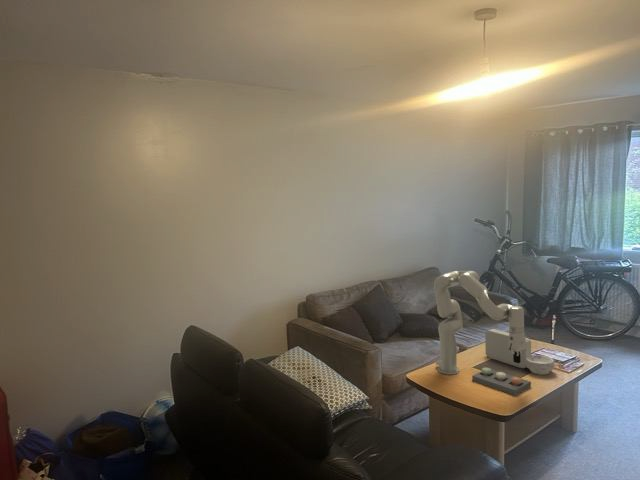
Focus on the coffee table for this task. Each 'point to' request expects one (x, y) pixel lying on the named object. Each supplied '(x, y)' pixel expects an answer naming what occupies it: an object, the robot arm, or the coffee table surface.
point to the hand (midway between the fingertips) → (517, 362)
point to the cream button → (500, 375)
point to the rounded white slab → (504, 348)
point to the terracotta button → (516, 380)
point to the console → (501, 383)
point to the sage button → (486, 371)
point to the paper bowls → (539, 364)
